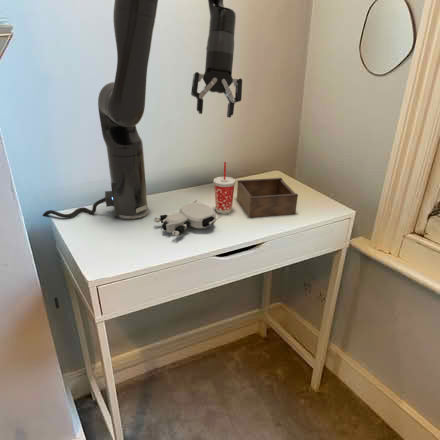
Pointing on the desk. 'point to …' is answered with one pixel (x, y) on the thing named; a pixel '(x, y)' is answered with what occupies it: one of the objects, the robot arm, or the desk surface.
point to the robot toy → (188, 218)
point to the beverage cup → (224, 193)
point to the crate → (266, 197)
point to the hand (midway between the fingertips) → (214, 115)
